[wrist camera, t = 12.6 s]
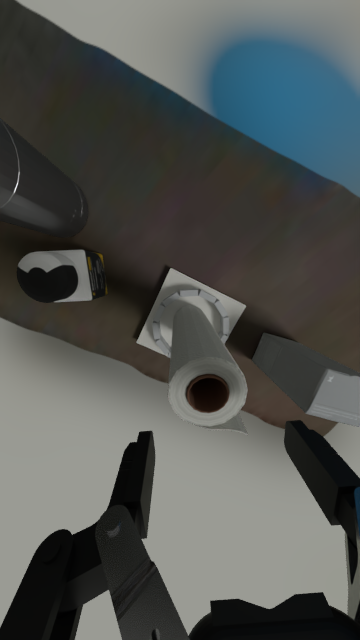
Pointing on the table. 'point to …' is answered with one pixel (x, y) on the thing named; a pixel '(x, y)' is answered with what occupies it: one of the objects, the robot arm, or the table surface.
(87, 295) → the medicine bottle
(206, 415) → the paper towel roll
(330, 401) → the skincare box
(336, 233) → the table surface
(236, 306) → the collar socket
